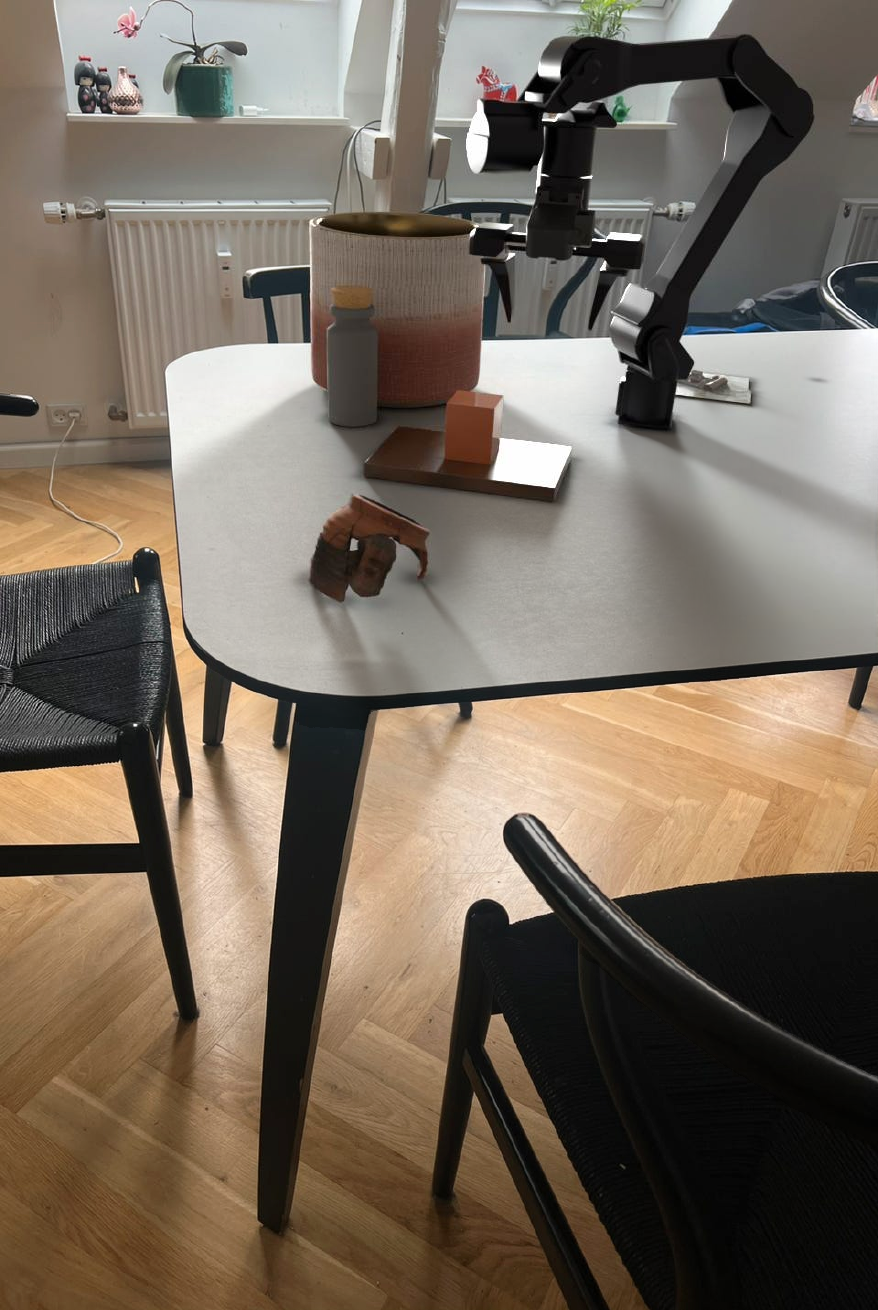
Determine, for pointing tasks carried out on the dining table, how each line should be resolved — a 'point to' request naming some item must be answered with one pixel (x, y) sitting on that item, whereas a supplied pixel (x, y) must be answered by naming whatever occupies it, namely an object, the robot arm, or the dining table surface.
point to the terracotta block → (473, 427)
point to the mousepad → (715, 387)
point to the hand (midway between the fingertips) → (549, 326)
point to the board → (470, 465)
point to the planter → (403, 299)
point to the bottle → (352, 358)
